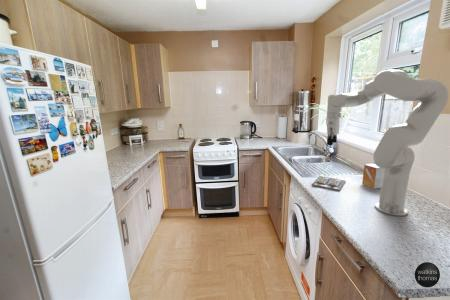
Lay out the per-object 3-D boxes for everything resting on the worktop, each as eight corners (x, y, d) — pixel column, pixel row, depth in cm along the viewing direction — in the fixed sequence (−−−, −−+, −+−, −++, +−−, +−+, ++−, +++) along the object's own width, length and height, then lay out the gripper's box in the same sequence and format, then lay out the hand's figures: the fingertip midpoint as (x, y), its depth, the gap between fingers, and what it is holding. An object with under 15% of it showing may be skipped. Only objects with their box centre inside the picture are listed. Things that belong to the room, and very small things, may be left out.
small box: (361, 184, 135) (364, 164, 132) (369, 182, 137) (371, 163, 134) (374, 188, 128) (376, 167, 125) (382, 187, 129) (384, 166, 127)
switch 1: (323, 184, 134) (323, 176, 133) (318, 183, 136) (318, 175, 135) (324, 182, 136) (325, 175, 135) (319, 181, 138) (319, 174, 137)
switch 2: (335, 186, 130) (336, 179, 129) (329, 185, 132) (330, 178, 131) (336, 185, 132) (337, 177, 131) (331, 184, 134) (331, 176, 133)
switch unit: (339, 191, 126) (340, 187, 125) (311, 185, 135) (311, 182, 135) (345, 182, 139) (345, 178, 139) (319, 177, 149) (319, 174, 149)
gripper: (337, 116, 119) (335, 146, 123) (343, 114, 132) (341, 142, 136) (323, 116, 124) (321, 145, 127) (330, 114, 137) (328, 141, 141)
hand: (331, 143), depth 132 cm, fingers open, 9 cm apart
